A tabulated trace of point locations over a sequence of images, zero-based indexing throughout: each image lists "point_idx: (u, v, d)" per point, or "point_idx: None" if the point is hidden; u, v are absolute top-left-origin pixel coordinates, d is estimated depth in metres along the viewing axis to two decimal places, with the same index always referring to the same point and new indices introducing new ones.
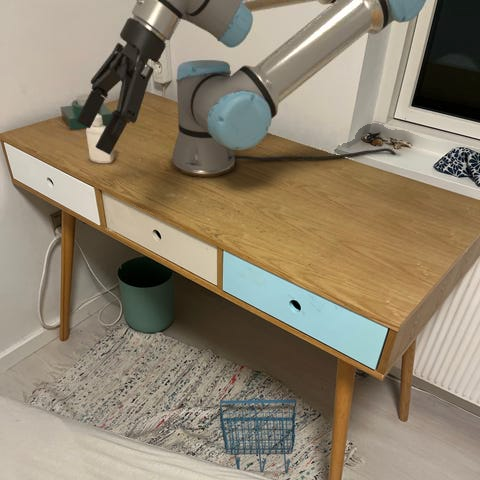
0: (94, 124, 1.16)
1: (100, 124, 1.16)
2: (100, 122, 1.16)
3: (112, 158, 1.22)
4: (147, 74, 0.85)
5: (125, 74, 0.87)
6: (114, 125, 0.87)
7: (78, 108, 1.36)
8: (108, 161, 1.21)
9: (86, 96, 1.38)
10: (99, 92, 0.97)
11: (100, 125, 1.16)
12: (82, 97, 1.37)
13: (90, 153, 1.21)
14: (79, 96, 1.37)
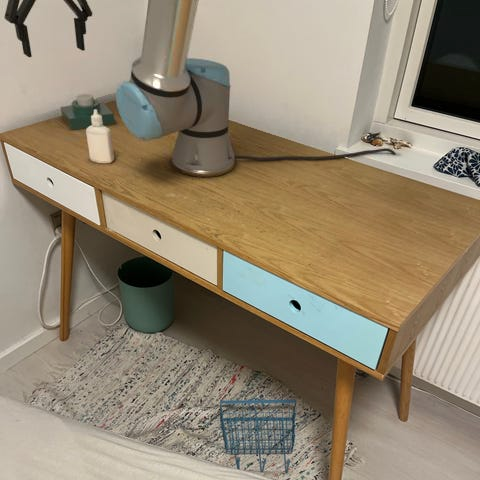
0: (94, 124, 1.16)
1: (100, 124, 1.16)
2: (100, 122, 1.16)
3: (112, 158, 1.22)
4: None
5: None
6: None
7: (78, 108, 1.36)
8: (108, 161, 1.21)
9: (86, 96, 1.38)
10: (79, 17, 1.21)
11: (100, 125, 1.16)
12: (82, 97, 1.37)
13: (90, 153, 1.21)
14: (79, 96, 1.37)
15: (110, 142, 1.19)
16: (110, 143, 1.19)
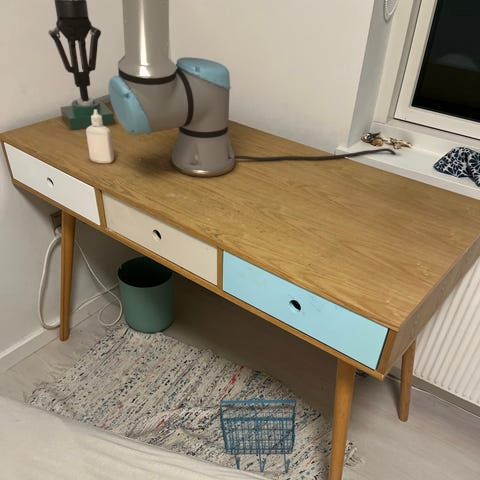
0: (94, 124, 1.16)
1: (100, 124, 1.16)
2: (100, 122, 1.16)
3: (112, 158, 1.22)
4: (53, 38, 1.25)
5: (67, 39, 1.29)
6: None
7: (78, 108, 1.36)
8: (108, 161, 1.21)
9: None
10: (83, 71, 1.34)
11: (100, 125, 1.16)
12: (82, 100, 1.37)
13: (90, 153, 1.21)
14: (79, 99, 1.38)
15: (110, 142, 1.19)
16: (110, 143, 1.19)
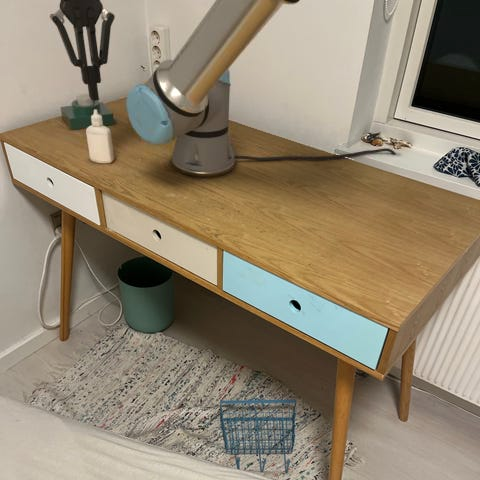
0: (94, 124, 1.16)
1: (100, 124, 1.16)
2: (100, 122, 1.16)
3: (112, 158, 1.22)
4: (55, 24, 1.01)
5: (73, 26, 1.05)
6: None
7: (78, 108, 1.36)
8: (108, 161, 1.21)
9: (86, 96, 1.38)
10: (92, 65, 1.09)
11: (100, 125, 1.16)
12: (82, 97, 1.37)
13: (90, 153, 1.21)
14: (79, 96, 1.37)
15: (110, 142, 1.19)
16: (110, 143, 1.19)
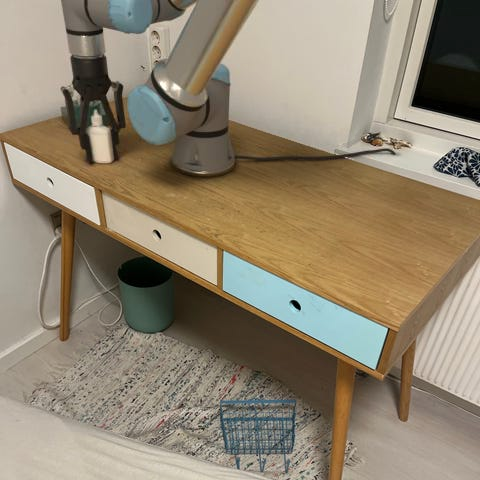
0: (94, 124, 1.16)
1: (100, 124, 1.16)
2: (100, 122, 1.16)
3: (112, 158, 1.22)
4: (64, 96, 1.09)
5: (80, 98, 1.13)
6: None
7: (78, 108, 1.36)
8: (108, 161, 1.21)
9: None
10: (112, 129, 1.19)
11: (100, 125, 1.16)
12: None
13: None
14: (79, 96, 1.37)
15: (110, 142, 1.19)
16: (110, 143, 1.19)
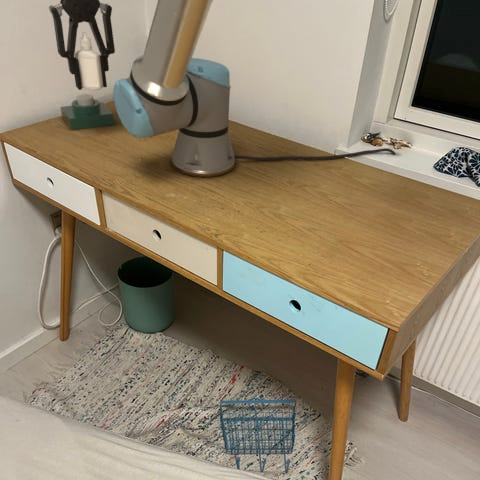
0: (83, 47, 1.16)
1: (88, 47, 1.16)
2: (89, 45, 1.16)
3: (101, 85, 1.22)
4: (53, 15, 1.10)
5: (69, 19, 1.14)
6: None
7: (78, 108, 1.36)
8: (97, 87, 1.22)
9: (86, 96, 1.38)
10: (101, 54, 1.20)
11: (89, 49, 1.17)
12: (82, 97, 1.37)
13: None
14: (79, 96, 1.37)
15: (99, 67, 1.19)
16: (99, 68, 1.20)
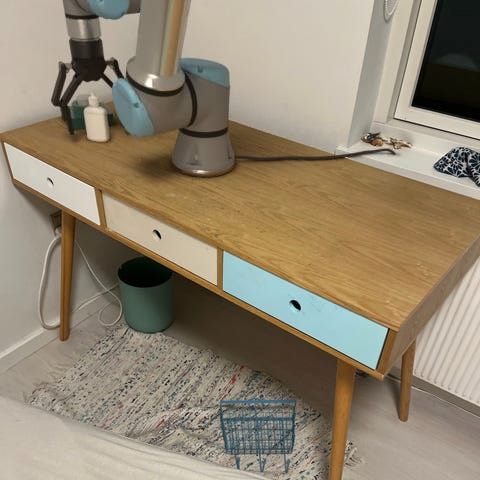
0: (91, 105, 1.25)
1: (96, 104, 1.26)
2: (97, 103, 1.26)
3: (108, 137, 1.31)
4: (60, 69, 1.18)
5: None
6: None
7: (78, 108, 1.36)
8: (104, 140, 1.31)
9: (86, 96, 1.38)
10: None
11: (97, 106, 1.26)
12: (82, 97, 1.37)
13: (87, 132, 1.30)
14: (79, 96, 1.37)
15: (106, 122, 1.29)
16: (106, 123, 1.29)
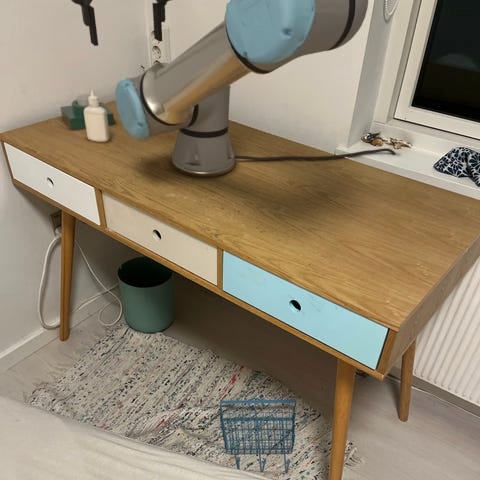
0: (91, 105, 1.25)
1: (96, 104, 1.26)
2: (97, 103, 1.26)
3: (108, 137, 1.31)
4: None
5: None
6: None
7: (78, 108, 1.36)
8: (104, 140, 1.31)
9: (86, 96, 1.38)
10: (158, 2, 1.02)
11: (97, 106, 1.26)
12: (82, 97, 1.37)
13: (87, 132, 1.30)
14: (79, 96, 1.37)
15: (106, 122, 1.29)
16: (106, 123, 1.29)
